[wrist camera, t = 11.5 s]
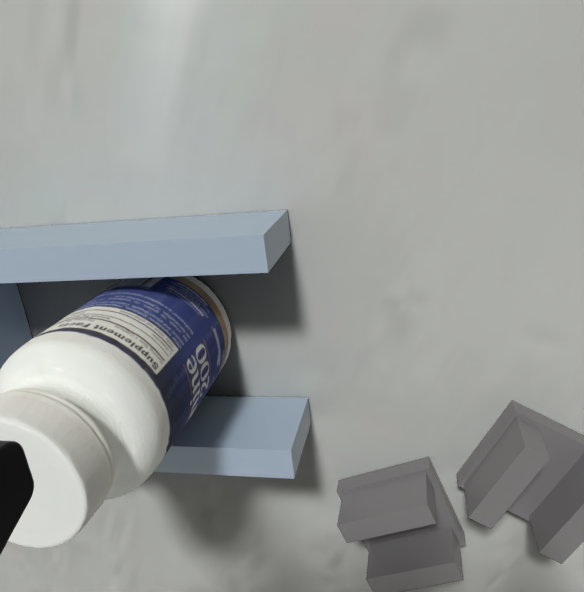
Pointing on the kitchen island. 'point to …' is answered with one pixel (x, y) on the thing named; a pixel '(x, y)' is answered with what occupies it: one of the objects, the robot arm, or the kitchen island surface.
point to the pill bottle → (108, 396)
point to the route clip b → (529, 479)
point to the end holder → (168, 263)
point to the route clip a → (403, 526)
